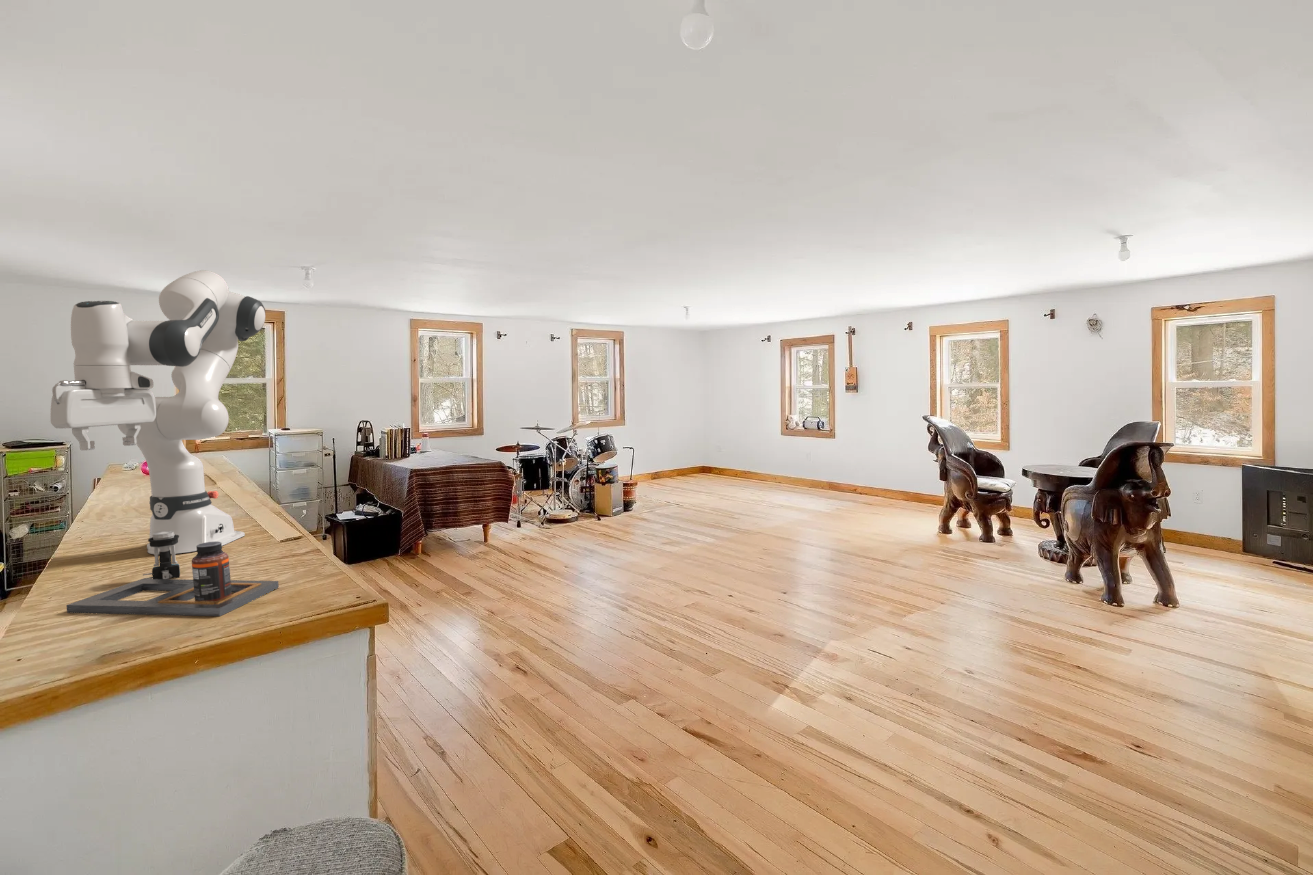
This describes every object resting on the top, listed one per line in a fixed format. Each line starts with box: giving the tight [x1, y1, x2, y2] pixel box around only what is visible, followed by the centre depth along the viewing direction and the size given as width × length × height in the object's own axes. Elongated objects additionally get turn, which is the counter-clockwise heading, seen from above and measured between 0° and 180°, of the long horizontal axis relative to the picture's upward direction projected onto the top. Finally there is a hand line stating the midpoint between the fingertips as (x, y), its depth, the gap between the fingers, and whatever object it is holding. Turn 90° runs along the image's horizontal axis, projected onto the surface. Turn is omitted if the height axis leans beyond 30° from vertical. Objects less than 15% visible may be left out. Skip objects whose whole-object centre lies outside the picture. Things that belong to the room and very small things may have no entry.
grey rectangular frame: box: [66, 578, 280, 617], centre depth 125 cm, size 16×30×2 cm, turn 85°
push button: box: [142, 531, 181, 579], centre depth 139 cm, size 7×5×10 cm
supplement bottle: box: [191, 542, 233, 601], centre depth 124 cm, size 6×6×11 cm
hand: (109, 447), depth 132 cm, fingers open, 8 cm apart
